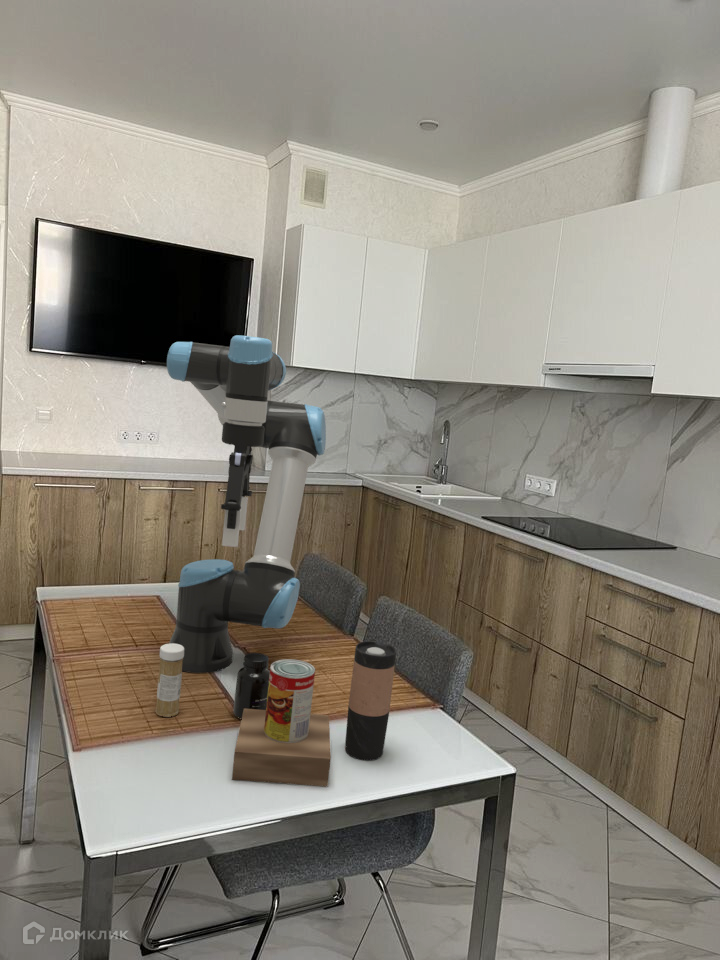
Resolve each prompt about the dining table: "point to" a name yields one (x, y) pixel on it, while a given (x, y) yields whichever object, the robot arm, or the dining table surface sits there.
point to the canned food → (289, 700)
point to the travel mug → (369, 700)
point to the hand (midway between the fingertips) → (234, 537)
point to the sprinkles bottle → (169, 679)
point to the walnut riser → (282, 753)
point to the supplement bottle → (252, 684)
